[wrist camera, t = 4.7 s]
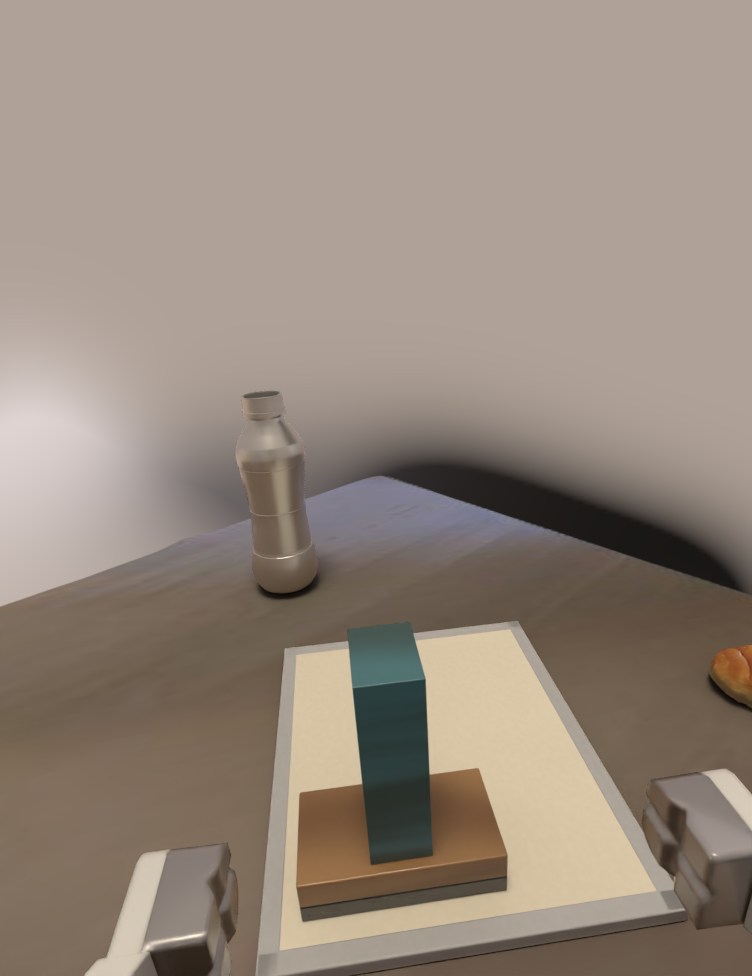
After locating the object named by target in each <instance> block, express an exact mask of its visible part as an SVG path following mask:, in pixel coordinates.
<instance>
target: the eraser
mask: <svg viewBox="0 0 752 976" xmlns="http://www.w3.org/2000/svg"><path fill="white" fill-rule="evenodd" d="M347 633H348V644H349V656H350V668H351V679H352V690H353V700H354V710H355V719H356V729H357V739H358V748H359V758H360V768H361V777H362V784H358V785H351V786H344V787H336V788H329V789H322V790H315V791H307V792H301V793H300V794H299V819H298V846H297V874H296V890H297V895H298V901H299V906H300V912H301V918H302V921H303V922H305V921H311V920H318V919H324V918H330V917H337V916H343V915H350V914H356V913H363V912H369V911H375V910H382V909H388V908H395V907H401V906H408V905H414V904H421V903H427V902H433V901H440V900H446V899H453V898H459V897H466V896H472V895H478V894H485V893H491V892H498V891H504V890H507V865H508V854H507V851H506V848H505V845H504V842H503V839H502V836H501V833H500V830H499V827H498V824H497V821H496V818H495V815H494V812H493V809H492V806H491V803H490V800H489V797H488V794H487V791H486V788H485V785H484V782H483V779H482V776H481V773H480V770H479V768H474V769H467V770H459V771H452V772H445V773H438V774H430V769H429V745H428V721H427V697H426V678H425V674H424V671H423V667H422V663H421V660H420V656H419V652H418V649H417V645H416V642H415V638H414V634H413V631H412V627H411V623H410V622H403V623H394V624H386V625H377V626H369V627H360V628H352V629H348V630H347Z"/></svg>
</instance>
